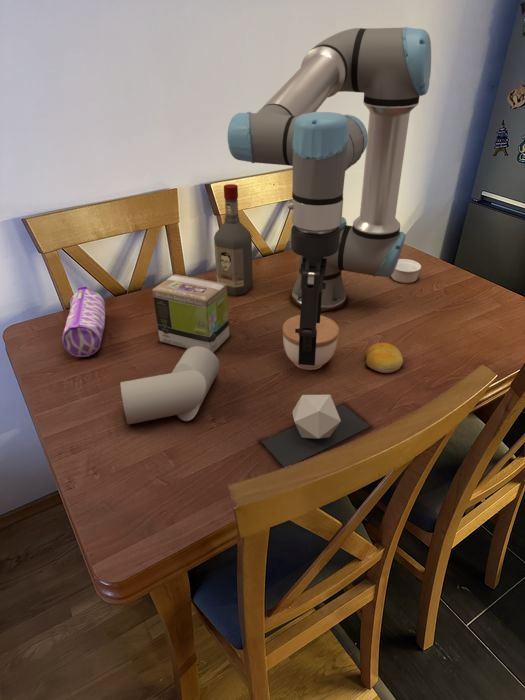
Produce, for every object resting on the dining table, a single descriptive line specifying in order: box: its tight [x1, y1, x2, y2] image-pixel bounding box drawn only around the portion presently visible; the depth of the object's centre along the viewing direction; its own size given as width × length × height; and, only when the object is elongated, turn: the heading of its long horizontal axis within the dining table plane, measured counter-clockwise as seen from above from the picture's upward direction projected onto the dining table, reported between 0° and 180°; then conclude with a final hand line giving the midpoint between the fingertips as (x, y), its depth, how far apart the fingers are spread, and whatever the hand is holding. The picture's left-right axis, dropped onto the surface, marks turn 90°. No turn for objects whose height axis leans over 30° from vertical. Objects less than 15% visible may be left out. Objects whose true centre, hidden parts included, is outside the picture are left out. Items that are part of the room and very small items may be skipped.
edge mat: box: [260, 404, 371, 468], centre depth 94 cm, size 20×8×1 cm, turn 122°
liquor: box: [213, 183, 254, 297], centre depth 137 cm, size 9×9×30 cm
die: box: [292, 394, 341, 438], centre depth 92 cm, size 8×9×10 cm
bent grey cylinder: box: [120, 346, 221, 425], centre depth 99 cm, size 18×11×20 cm
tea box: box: [151, 273, 230, 353], centre depth 118 cm, size 15×10×15 cm
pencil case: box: [61, 285, 106, 358], centre depth 121 cm, size 22×9×10 cm, turn 14°
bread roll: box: [365, 342, 404, 374], centre depth 112 cm, size 8×9×4 cm
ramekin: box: [390, 258, 422, 284], centre depth 150 cm, size 9×9×4 cm
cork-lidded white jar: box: [282, 314, 340, 371], centre depth 111 cm, size 13×13×11 cm
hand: (309, 341), depth 87 cm, fingers open, 13 cm apart
